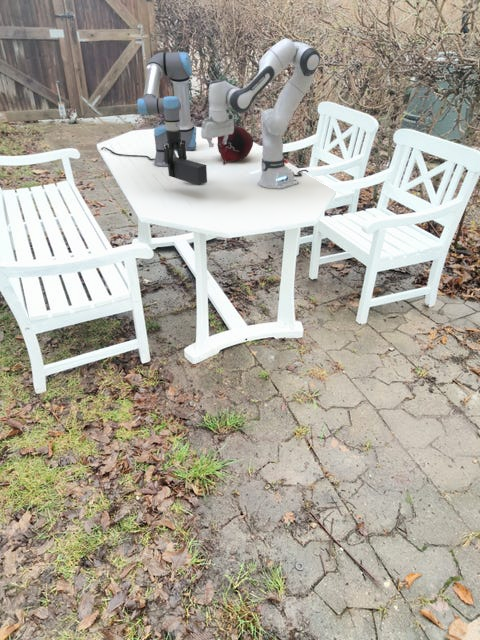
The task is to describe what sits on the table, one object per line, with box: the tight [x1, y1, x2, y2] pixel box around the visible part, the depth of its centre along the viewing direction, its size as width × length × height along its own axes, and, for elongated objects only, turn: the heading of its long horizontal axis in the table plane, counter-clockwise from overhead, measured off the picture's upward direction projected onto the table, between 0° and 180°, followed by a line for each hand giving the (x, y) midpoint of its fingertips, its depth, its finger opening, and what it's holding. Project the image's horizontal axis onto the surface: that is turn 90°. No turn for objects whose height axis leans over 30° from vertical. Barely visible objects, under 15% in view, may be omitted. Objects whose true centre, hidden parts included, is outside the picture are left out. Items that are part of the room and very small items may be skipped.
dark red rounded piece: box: [217, 126, 254, 165], centre depth 296 cm, size 21×24×25 cm
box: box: [167, 156, 208, 186], centre depth 237 cm, size 24×6×9 cm, turn 47°
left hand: (177, 175), depth 244 cm, fingers closed on box, 6 cm apart
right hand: (217, 145), depth 230 cm, fingers open, 8 cm apart
